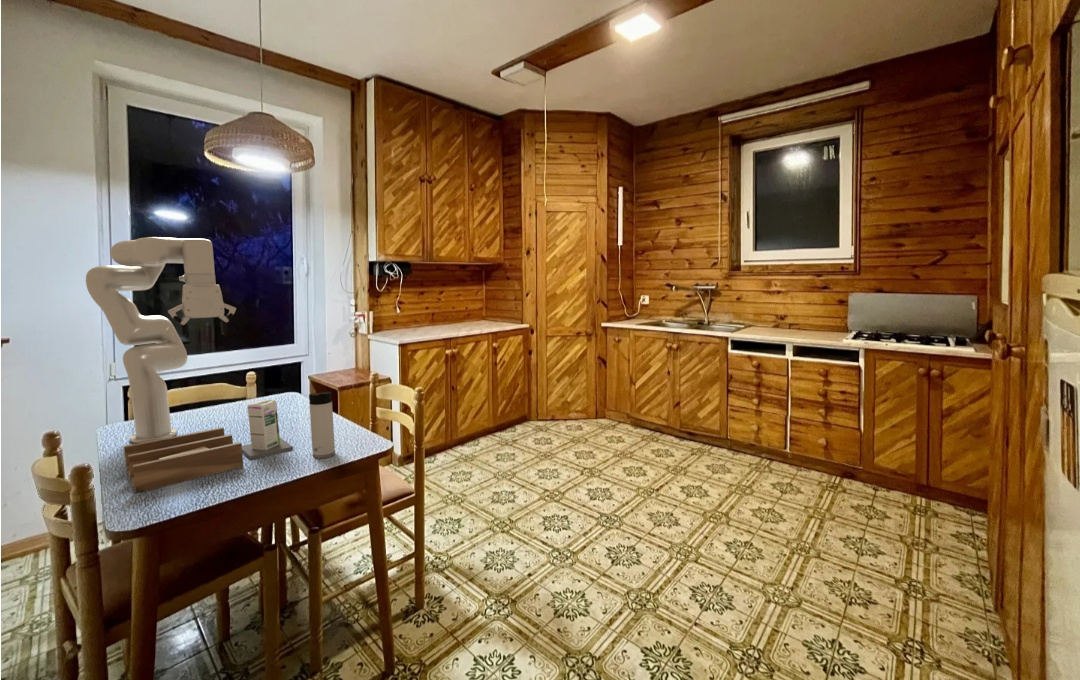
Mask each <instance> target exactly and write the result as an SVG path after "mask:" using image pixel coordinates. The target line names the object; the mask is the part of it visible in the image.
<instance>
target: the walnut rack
mask: <svg viewBox="0 0 1080 680" xmlns="http://www.w3.org/2000/svg"><path fill="white" fill-rule="evenodd" d="M233 439H234V438H233V435H232V434H226V435H225V428H224V427H223V426H222V427H218V428H212V429H207V430H201V431H196V432H190V433H185V434H181V435H175V436H173V437H169V438H164V439H159V440H154V441H148V442H143V443H133V444H129V445H124V446H123V450H124V451H123V453H124V458H125V459H124V460H125V466H126V467H125V468H126V469H125V470H126V472H127V474H128V476H129V479H130V480H131V484H132V486H133V489H134V488H135V489H134V491H135V493H136V492H139V493H142V492H141V491H143V492H146V490H147V491H152V490H154V489H159V488H163V487H168V486H172V485H176V484H179V483H183V482H187V481H192V480H195V478H196V479H200V478H204V477H207V476H211V475H215V474H220V473H223V472H228V471H231V470H236V469H239V468H243V467H244V458H243V457H244V456H243V453H242V446H243V444H242V442H240V441H238V442H234V441H233ZM200 447H206V448H209V449H206V450H201V451H196V452H192V453H187V454H182V455H178V456H173V457H168V458H164V459H159V458H163V457H166V456H170V455H174V454H178V453H181V452H185V451H189V450H193V449H197V448H200ZM203 476H204V477H203ZM199 477H200V478H199ZM191 479H192V480H191Z"/></svg>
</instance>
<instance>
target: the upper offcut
mask: <svg viewBox="0 0 1080 680" xmlns="http://www.w3.org/2000/svg"><path fill="white" fill-rule="evenodd" d="M206 449H209V448H206V447H200V448H197V449H193V450H189V451H185V452H181V453H178V454H174V455H170V456H166V457H163V458H159V459H164V458H168V457H173V456H178V455H182V454H187V453H192V452H196V451H201V450H206Z"/></svg>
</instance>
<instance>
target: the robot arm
mask: <svg viewBox="0 0 1080 680" xmlns="http://www.w3.org/2000/svg"><path fill="white" fill-rule="evenodd" d="M109 254H110V258H111V259H112V260H113V261H114V262H115V263H116V264H118V265H99V266H95V267H94V266H93V267H92V268H91V269H89V270H88V271H87V272H86V275H85V285H86V288H87V291H88V293H89V295H90V297H91V299H92V300H93V302H94V303H96V304H97V306H98V307H99V308H100V309H101V311H102V312H103V314H104V315H105V317H106V319H107V321H108V324H109V325H110V327H111V329H112V331H113V334H115V337H116V339H117V341H118V342H119V343H120V344H122V345H124V346H133V347H130V348H127V350H126V351H125V352H124V353H123V356H122V363H123V367H124V369H125V372H126V374H127V379H128V383H129V389H130V397H131V404H132V412H133V413H132V414H133V420H134V421H133V422H134V430H135V431H134V432H135V434H132V435H131V436H130V437H129V440H130V442H131V443H133V444H138V443H143V442H148V441H154V440H159V439H164V438H169V437H174V436H177V434H178V430H177V428H172V423H171V415H170V414H171V412H170V406H169V405H170V404H169V395H168V387H167V386H168V385H167V384H166V382H165V380H164V379H163V378H162V377H161V376H160V375H159V374H158V373H159V372H163V371H169V370H170V371H171V370H176V369H180V368H182V367H184V366H185V365H186V364H187V362H188V353H187V348H185V345H184V343H183V342H182V339H181V338H180V335H179V334H178V331H177V329H176V328H175V326H174V324H173V323H172V321H171V320H170V319H169V318H168V317H165V316H163V315H157V314H156V315H142V314H141V313H140V311H139V309H138V307H137V305H136V304H135V303H134V302H133V301H132V300H131V299H130V298H128V297H127V296H125V295H123V294H122V293H120V292H127V291H128V292H129V291H133V292H134V291H147V290H150V289H152V288H153V287H154V285H155V283H156V282H157V281H158V278H159V276H160V275H161V273H162V272H163V270H164V268H165V266H166V264H183V270H184V274H183V275H181V276H180V275H179V277H178V280H179V281H180V282H184V283H185V284H183V286H182V291H181V294H182V295H181V304H179V305H176V306H175V307H173V308H170V309H169V310H167V313H168V314H169V316H171V318H172V319H173V321H176V322H177V323H178V324H180V331H181V336H183V337H184V338H185V339H188V338H190V332H189V325H188V322H189V320H190V319H202V318H203V319H205V318H219V320H221V321H220V323H219V324H220V334H221V335H223V336H226V335H227V333H228V332H229V329H228V326H229V325H228V322H230V320H231V319H232V318H233V317H234V314H235V313H236V310H237V308H236V307H235V306H232V305H230V304H227V303H225V302H224V300H223V294H222V290H221V287H220V284H216V274H215V273H216V272H215V259H214V258H215V257H214V248H213V243H212V241H211V240H210V239H206V238H177V237H161V236H159V237H157V236H151V237H150V236H149V237H140V238H137V239H132V240H131V239H130V240H121V241H119V242H116V243H115V244H113V245H112V247H110V251H109ZM225 309H227V310H229V311H228V313H227V314H226V315H225ZM181 310H182V311H181ZM179 311H181V312H182V318H181V317H179V316H178V315H177V313H178V312H179Z"/></svg>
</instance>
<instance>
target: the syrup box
mask: <svg viewBox="0 0 1080 680" xmlns="http://www.w3.org/2000/svg"><path fill="white" fill-rule="evenodd" d="M247 416H248V423H249V424H248V425H249V434H250V444H251V446H252V449H256V450H266V451H267V450H268V449H270V448H273V447H275V446H277V445H280V438H281V437H280V428H279V427H280V426H279V418H278V417H279V416H278V406H277V401H276V400H271V399H264V400H263V399H261V400H259V401H257V402H256V401H255V402H253V403H249V404H247Z"/></svg>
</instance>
